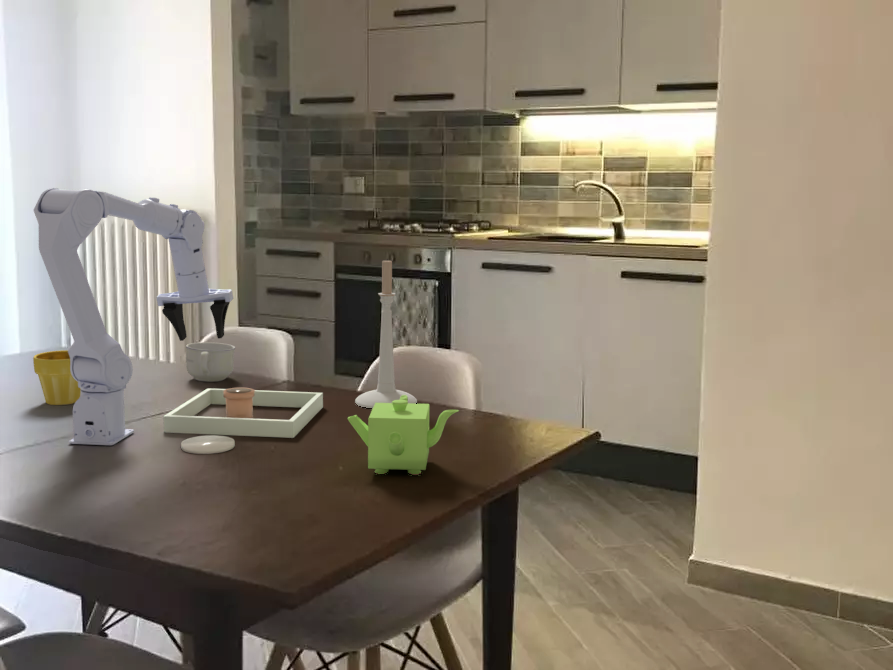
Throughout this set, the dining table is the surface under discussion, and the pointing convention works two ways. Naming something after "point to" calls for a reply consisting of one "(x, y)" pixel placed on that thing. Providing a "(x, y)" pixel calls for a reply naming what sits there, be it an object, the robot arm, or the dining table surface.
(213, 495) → the dining table surface
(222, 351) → the teacup
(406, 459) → the kettle
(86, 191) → the robot arm
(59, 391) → the plant pot
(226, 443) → the saucer
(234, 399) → the terracotta pot
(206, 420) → the rectangular frame
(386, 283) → the candlestick
